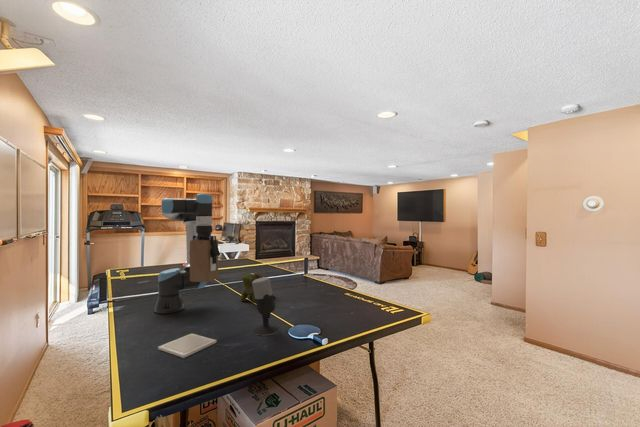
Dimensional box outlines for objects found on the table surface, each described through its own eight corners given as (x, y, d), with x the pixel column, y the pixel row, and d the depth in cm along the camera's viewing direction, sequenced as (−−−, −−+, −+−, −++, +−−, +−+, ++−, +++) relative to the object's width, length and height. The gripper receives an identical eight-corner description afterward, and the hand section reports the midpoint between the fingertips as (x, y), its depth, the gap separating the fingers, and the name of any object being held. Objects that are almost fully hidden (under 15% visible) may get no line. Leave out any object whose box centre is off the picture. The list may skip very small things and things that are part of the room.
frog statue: (267, 303, 202) (255, 303, 178) (245, 301, 204) (230, 300, 181) (270, 275, 208) (259, 271, 184) (249, 273, 210) (235, 269, 186)
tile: (158, 349, 121) (158, 346, 121) (191, 335, 135) (191, 332, 135) (183, 358, 114) (183, 355, 114) (216, 342, 128) (216, 339, 128)
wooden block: (207, 282, 139) (207, 240, 140) (188, 282, 141) (188, 240, 142) (219, 278, 149) (218, 238, 150) (201, 277, 151) (201, 238, 151)
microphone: (251, 326, 146) (251, 276, 146) (277, 324, 149) (277, 274, 150) (252, 337, 133) (252, 281, 134) (281, 333, 137) (281, 279, 137)
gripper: (181, 225, 148) (181, 268, 148) (215, 225, 137) (215, 272, 136) (194, 224, 155) (194, 266, 154) (227, 225, 143) (227, 270, 143)
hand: (204, 269), depth 145 cm, fingers closed on wooden block, 11 cm apart
